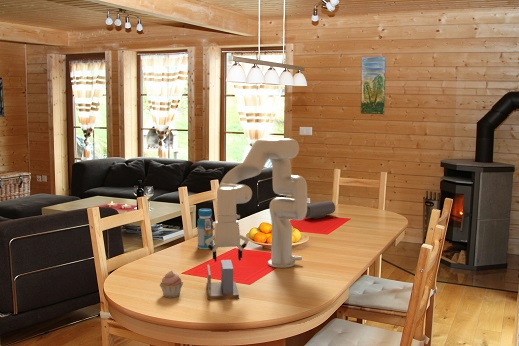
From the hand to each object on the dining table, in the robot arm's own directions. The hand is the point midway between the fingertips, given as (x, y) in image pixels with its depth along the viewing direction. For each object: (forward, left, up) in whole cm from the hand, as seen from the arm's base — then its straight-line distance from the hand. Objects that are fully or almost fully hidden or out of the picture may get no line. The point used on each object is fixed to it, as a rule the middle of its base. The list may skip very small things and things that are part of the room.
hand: (227, 260), depth 231 cm
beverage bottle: (+6, -69, -13) cm, 70 cm away
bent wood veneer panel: (+2, 0, -13) cm, 13 cm away
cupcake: (+22, +1, -13) cm, 26 cm away
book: (0, 0, -12) cm, 12 cm away
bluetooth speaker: (-69, -135, -13) cm, 152 cm away
